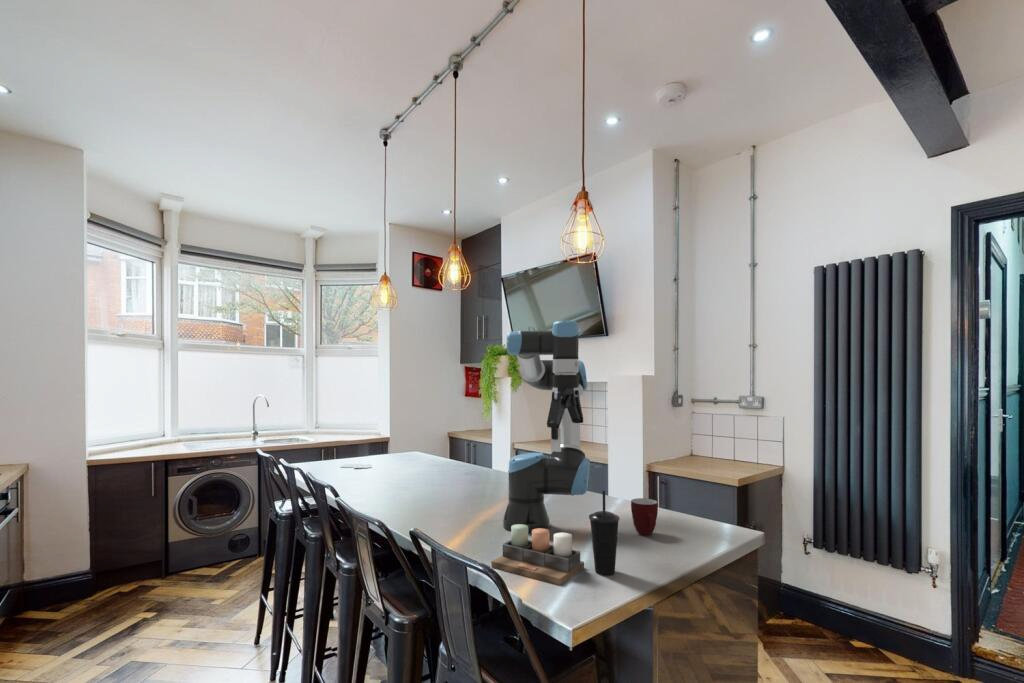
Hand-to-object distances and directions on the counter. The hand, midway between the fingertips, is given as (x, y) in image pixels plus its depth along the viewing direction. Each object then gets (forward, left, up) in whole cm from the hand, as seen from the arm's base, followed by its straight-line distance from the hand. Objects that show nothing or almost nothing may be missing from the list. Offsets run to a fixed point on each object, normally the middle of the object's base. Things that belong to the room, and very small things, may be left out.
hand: (566, 448), depth 144 cm
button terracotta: (0, -15, -25) cm, 29 cm away
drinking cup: (+16, -9, -29) cm, 34 cm away
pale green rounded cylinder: (-6, -15, -25) cm, 29 cm away
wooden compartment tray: (0, -16, -28) cm, 33 cm away
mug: (+15, +25, -29) cm, 41 cm away
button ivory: (+7, -15, -25) cm, 29 cm away
